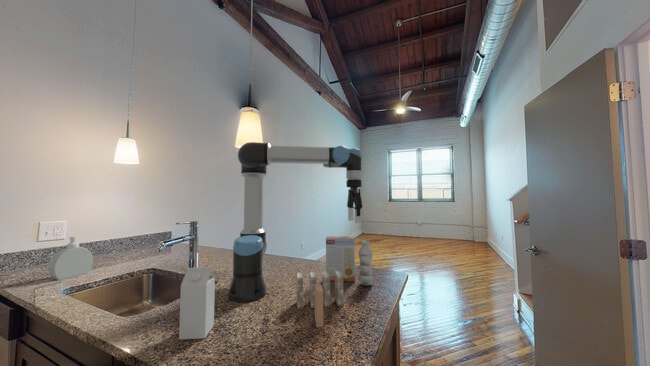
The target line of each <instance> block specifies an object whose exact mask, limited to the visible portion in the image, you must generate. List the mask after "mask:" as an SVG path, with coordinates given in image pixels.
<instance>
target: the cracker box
mask: <svg viewBox="0 0 650 366" xmlns="http://www.w3.org/2000/svg"><path fill="white" fill-rule="evenodd" d="M355 251H356V250H355V236H354V235H353V236H352V235H351V236H350V235H345V236H343V235H342V236H341V235H331V236H330V235H328V236H326V237H325V272H327V271H328V273H329V275H330V282H335V271H340V272H341V273H342V274H343V282H348V283H349V282H351V283H353V282H354V283H355V282H356V258H355V257H356V256H355V253H356V252H355Z"/></svg>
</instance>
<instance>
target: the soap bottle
mask: <svg viewBox="0 0 650 366" xmlns="http://www.w3.org/2000/svg"><path fill="white" fill-rule="evenodd" d="M68 239H69V240H70V242H69V243H67V244H66V248H65V247H64V248H61V249H60V250H59V251H57V252H56V253H54V255H53V256H52V258H51V259H50V261H49V263H48V266H47V268H48V274H49V276H50V277H51V278H52V279H53V280H57V281H62V280H65V279H66V280H67V279H70V278H74V277H75V278H76V277H78V276H83V275H87V274H88V273H89V272H90V271H91V269H92V266H93V263H94V257H93V256H94V255H93V253H92V252H91V251H90V250H89V249H87V248H86V247H84V246H80V243H79V242H78V241H77V236H69V237H68Z"/></svg>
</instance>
